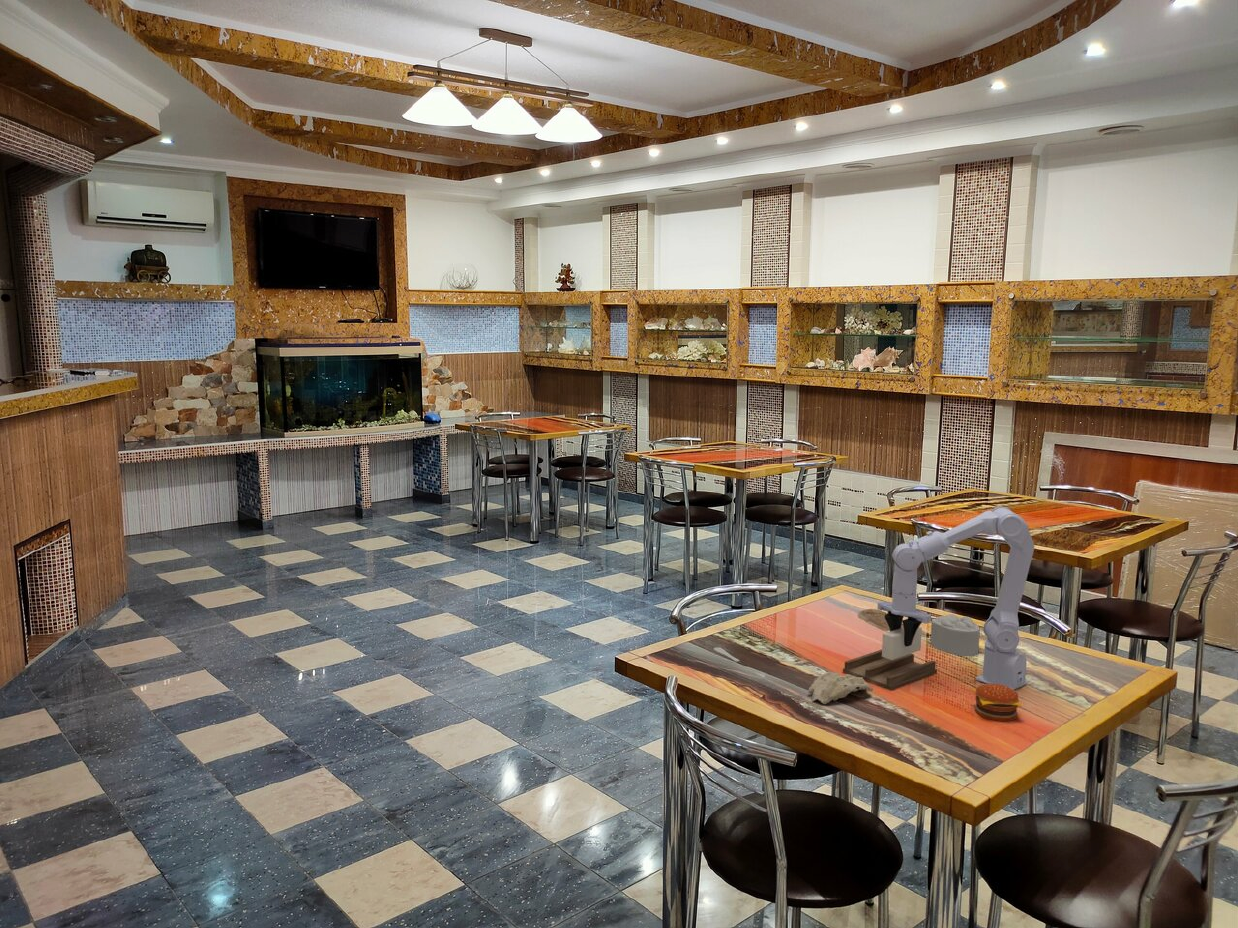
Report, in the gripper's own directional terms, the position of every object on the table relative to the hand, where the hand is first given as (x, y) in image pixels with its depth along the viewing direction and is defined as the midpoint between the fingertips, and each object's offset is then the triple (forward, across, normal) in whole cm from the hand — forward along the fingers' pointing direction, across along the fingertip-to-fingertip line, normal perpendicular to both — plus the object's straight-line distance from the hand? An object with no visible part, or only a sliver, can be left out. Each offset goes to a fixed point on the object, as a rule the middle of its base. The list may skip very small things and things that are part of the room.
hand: (902, 643), depth 227 cm
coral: (+9, -2, -22) cm, 24 cm away
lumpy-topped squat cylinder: (+9, -3, +30) cm, 32 cm away
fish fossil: (+10, -28, +32) cm, 44 cm away
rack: (+9, -3, 0) cm, 9 cm away
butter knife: (+9, -32, -26) cm, 42 cm away
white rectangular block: (+3, 0, 0) cm, 3 cm away
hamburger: (+9, +27, -1) cm, 28 cm away
